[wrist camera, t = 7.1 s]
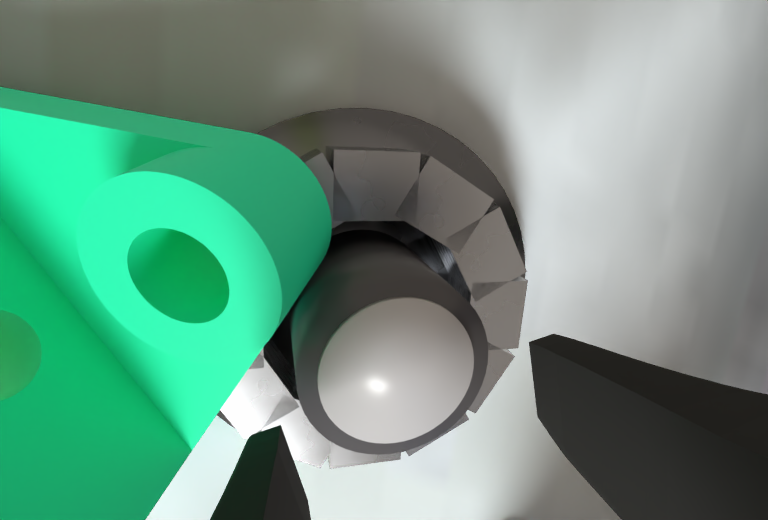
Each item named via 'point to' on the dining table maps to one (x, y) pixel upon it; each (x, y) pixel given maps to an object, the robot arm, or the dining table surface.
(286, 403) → the grey knurled ring
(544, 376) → the robot arm
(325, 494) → the dining table surface
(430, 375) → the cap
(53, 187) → the camera mount
